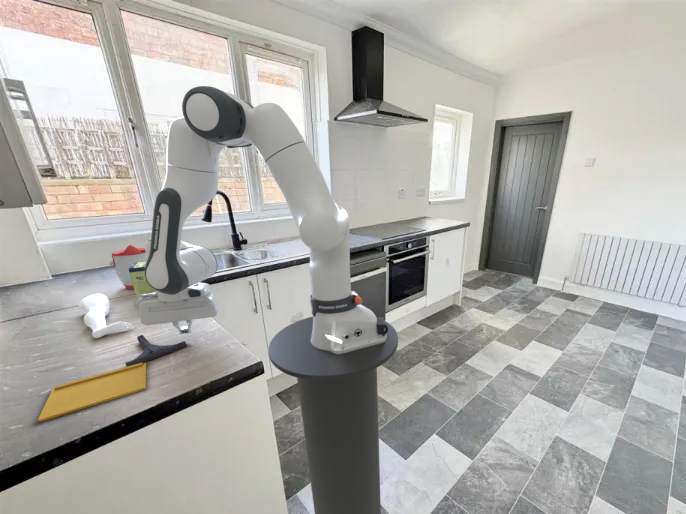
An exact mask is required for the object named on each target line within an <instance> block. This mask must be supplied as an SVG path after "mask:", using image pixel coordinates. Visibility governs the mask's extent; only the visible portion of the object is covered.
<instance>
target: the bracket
mask: <svg viewBox="0 0 686 514" xmlns="http://www.w3.org/2000/svg"><path fill="white" fill-rule="evenodd" d="M136 339H137V342H138V343H139V344H140V346H142V347H143V348H144V349H143V351H142V353H140V354H139V355H138V356H137V357H135V358H134V359H132V360H128V361H126V362H125V367H127V366H131V365H135V364H138V363H142V362H143V364H144V363H147V362H149V361H151V360H154V359H157V358H159V357H162V356H164V355H167V354H170V353H172V352H174V351H178V350H180V349H182V348H186V347H187V345H188V344H187V342H186V341H185V340H183V341H181V342H178V343H175V344H166V345H158V344H153V343H151V342H150V341H148V339H147V338H146V337H145V336H144V335H143V334H141V335H137V337H136Z"/></svg>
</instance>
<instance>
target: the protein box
mask: <svg viewBox="0 0 686 514" xmlns="http://www.w3.org/2000/svg"><path fill="white" fill-rule="evenodd" d="M145 266H146V262H138V263H133V265H132V266H131V267H130V268H129V269H128V270H129V273H130V276H131V280H132V283H133V287H134V290H133V291H134V293H135V296H136V298H137V297H138V296H140V295H141V294H150V293H156V290H155V289H153V288H152V287H151V286H150V285H149V284H148V282H147V281H146V278H145Z"/></svg>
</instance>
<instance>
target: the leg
mask: <svg viewBox="0 0 686 514" xmlns="http://www.w3.org/2000/svg"><path fill="white" fill-rule="evenodd" d="M109 299H110V298H109V297H108V296H107V295H105V294H103V293H93V294H89V295H87V296H85V297H83V298H82V299H81V300H80V301H79V302H78V305H77V306H78V308H79V309H80V310H82V311H83V313H84V314H85V315H84V316H83V323H84V325H86V326H87V327H88V328H90V330H91V331H92V332H91V336H92V337H93V338H94V339H100V338H102V337H103V336H105V335H108V334H109V335H110V334H118V333H124V332H127V331H129V330H133V328H134V326H133V325H132V324H130V323H129V322H126V321H117V322H114V323H111V324H108V325H107V320H106V316H108V315H109V313H110V311H111V310H110V309H111V308H110V300H109Z"/></svg>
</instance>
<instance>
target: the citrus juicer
mask: <svg viewBox="0 0 686 514" xmlns="http://www.w3.org/2000/svg"><path fill="white" fill-rule="evenodd" d="M111 258H112V260H110V261H109V262H108V267H112V266H114V269H115V273H116V275H117V277H118V279H119V281H120V282H121V283H122V285H123V286H124V287H125V289H127V290H131V291H135V290H134V287H133V283H132V280H131V276H130V273H129V270H128V269H129V268H130V267H131V266H132V265H133V263H138V262H147V257H146V251H145V247H140V248H139V247H138V248H137V247H136V246H134V245H132V244H129V245H128V246H127V247H126V248H125V249H123V250H117V251H114V252H111Z"/></svg>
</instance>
